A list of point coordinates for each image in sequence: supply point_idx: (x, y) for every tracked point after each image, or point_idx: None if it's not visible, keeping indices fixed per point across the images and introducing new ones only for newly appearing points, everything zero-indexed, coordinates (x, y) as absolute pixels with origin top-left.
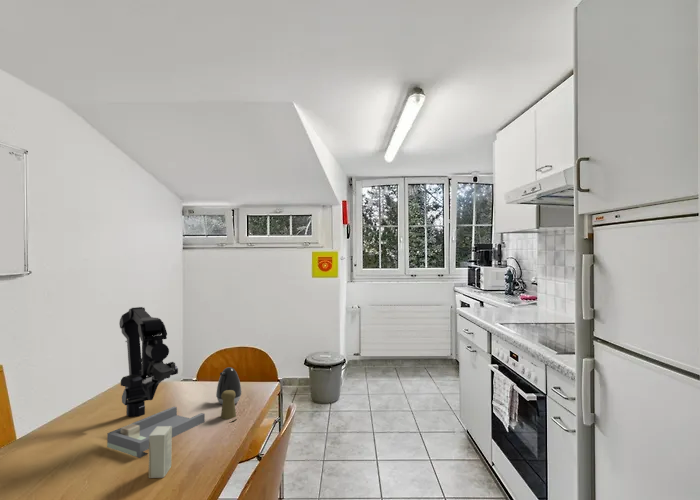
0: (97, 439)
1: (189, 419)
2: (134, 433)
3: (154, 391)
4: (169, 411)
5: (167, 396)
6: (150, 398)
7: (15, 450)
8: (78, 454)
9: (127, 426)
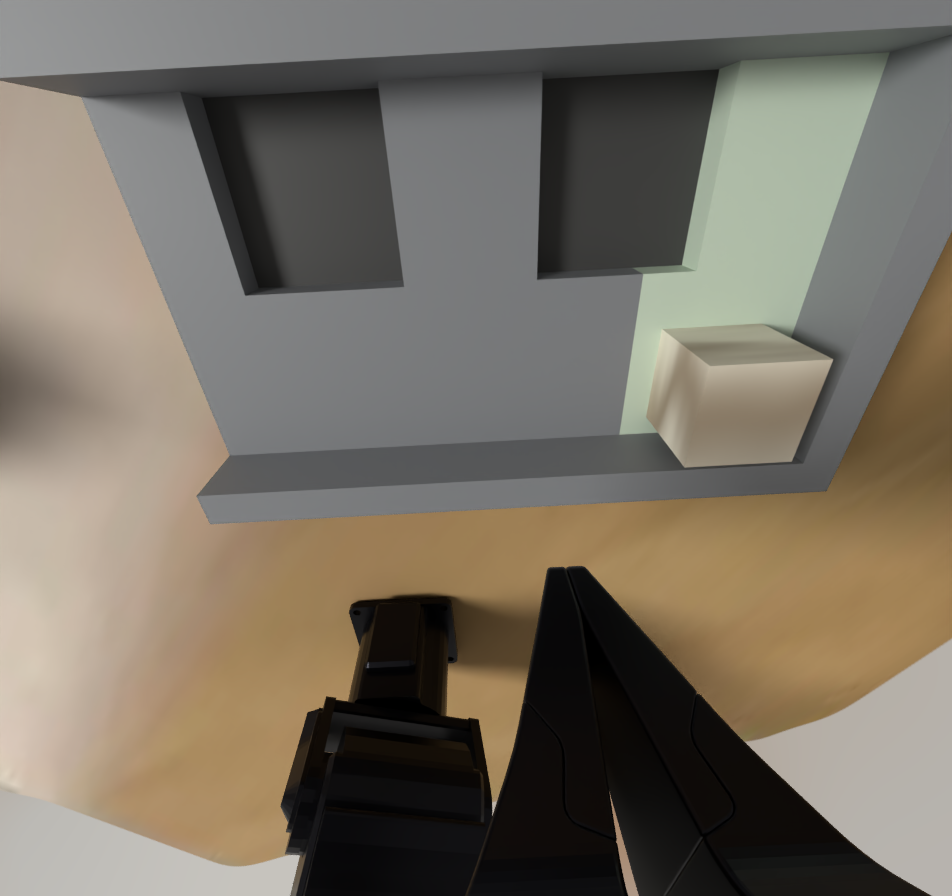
0: (687, 557)
1: (235, 19)
2: (737, 344)
3: (559, 678)
4: (281, 483)
5: (146, 713)
6: (600, 585)
7: (848, 686)
8: (871, 483)
9: (750, 443)
